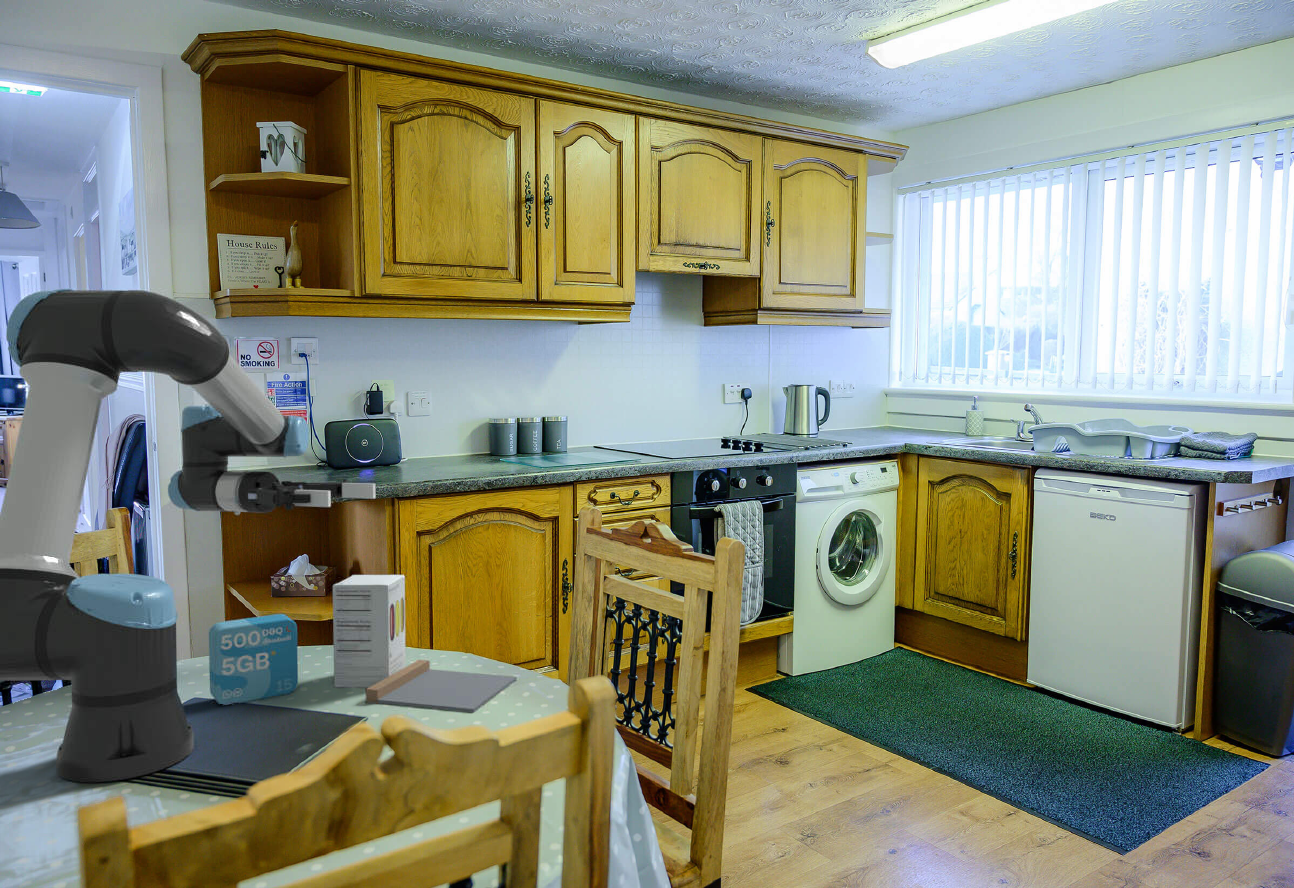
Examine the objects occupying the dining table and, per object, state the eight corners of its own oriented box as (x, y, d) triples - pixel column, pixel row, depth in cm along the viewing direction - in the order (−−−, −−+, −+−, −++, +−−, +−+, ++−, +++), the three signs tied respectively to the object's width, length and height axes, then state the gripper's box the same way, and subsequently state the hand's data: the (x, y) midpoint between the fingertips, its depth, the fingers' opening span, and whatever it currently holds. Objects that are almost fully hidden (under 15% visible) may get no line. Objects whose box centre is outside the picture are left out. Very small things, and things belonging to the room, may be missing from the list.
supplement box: (389, 689, 140) (388, 585, 140) (332, 688, 141) (330, 584, 140) (407, 670, 150) (405, 573, 149) (353, 670, 150) (352, 573, 149)
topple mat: (366, 701, 134) (366, 688, 134) (419, 671, 150) (418, 659, 150) (473, 712, 130) (473, 698, 130) (516, 679, 145) (516, 667, 145)
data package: (215, 708, 132) (214, 629, 131) (209, 700, 135) (208, 623, 135) (298, 692, 139) (297, 617, 138) (290, 685, 142) (289, 612, 142)
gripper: (294, 504, 171) (391, 507, 166) (199, 521, 147) (308, 525, 142) (294, 466, 171) (390, 468, 166) (198, 476, 147) (307, 479, 142)
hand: (353, 494), depth 154 cm, fingers open, 13 cm apart
